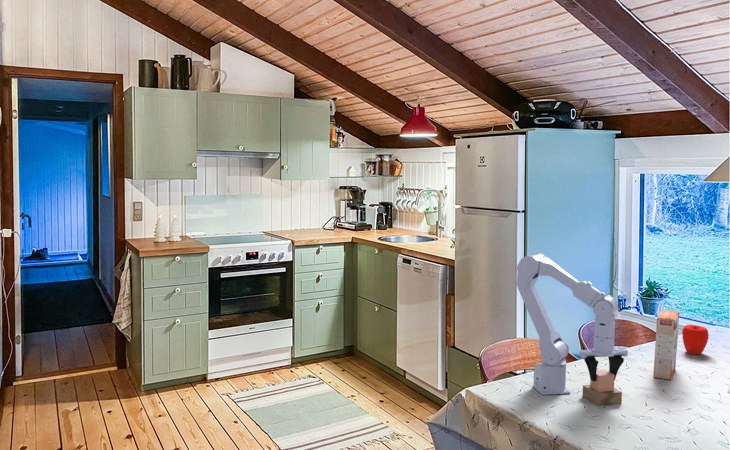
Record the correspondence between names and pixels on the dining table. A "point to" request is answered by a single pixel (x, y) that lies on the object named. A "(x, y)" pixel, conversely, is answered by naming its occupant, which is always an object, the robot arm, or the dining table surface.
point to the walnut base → (602, 396)
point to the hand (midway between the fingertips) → (602, 379)
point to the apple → (695, 338)
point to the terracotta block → (603, 381)
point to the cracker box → (666, 344)
